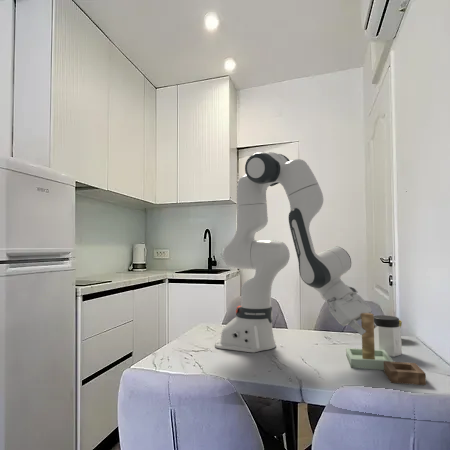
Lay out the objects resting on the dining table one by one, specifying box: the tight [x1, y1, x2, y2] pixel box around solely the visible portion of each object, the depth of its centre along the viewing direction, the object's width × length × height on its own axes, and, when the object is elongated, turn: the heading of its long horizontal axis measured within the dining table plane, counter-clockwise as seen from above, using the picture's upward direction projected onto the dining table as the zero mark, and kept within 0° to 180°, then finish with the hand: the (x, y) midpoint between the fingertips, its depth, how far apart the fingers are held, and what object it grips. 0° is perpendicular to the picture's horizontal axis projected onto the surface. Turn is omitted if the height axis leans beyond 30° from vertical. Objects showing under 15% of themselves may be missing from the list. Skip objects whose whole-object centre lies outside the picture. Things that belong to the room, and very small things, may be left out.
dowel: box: [361, 312, 375, 359], centre depth 108 cm, size 4×4×14 cm
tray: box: [345, 347, 395, 371], centre depth 108 cm, size 12×12×2 cm
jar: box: [374, 314, 403, 358], centre depth 118 cm, size 9×8×12 cm
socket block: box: [383, 361, 427, 386], centre depth 95 cm, size 8×8×3 cm
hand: (369, 330), depth 108 cm, fingers open, 8 cm apart
